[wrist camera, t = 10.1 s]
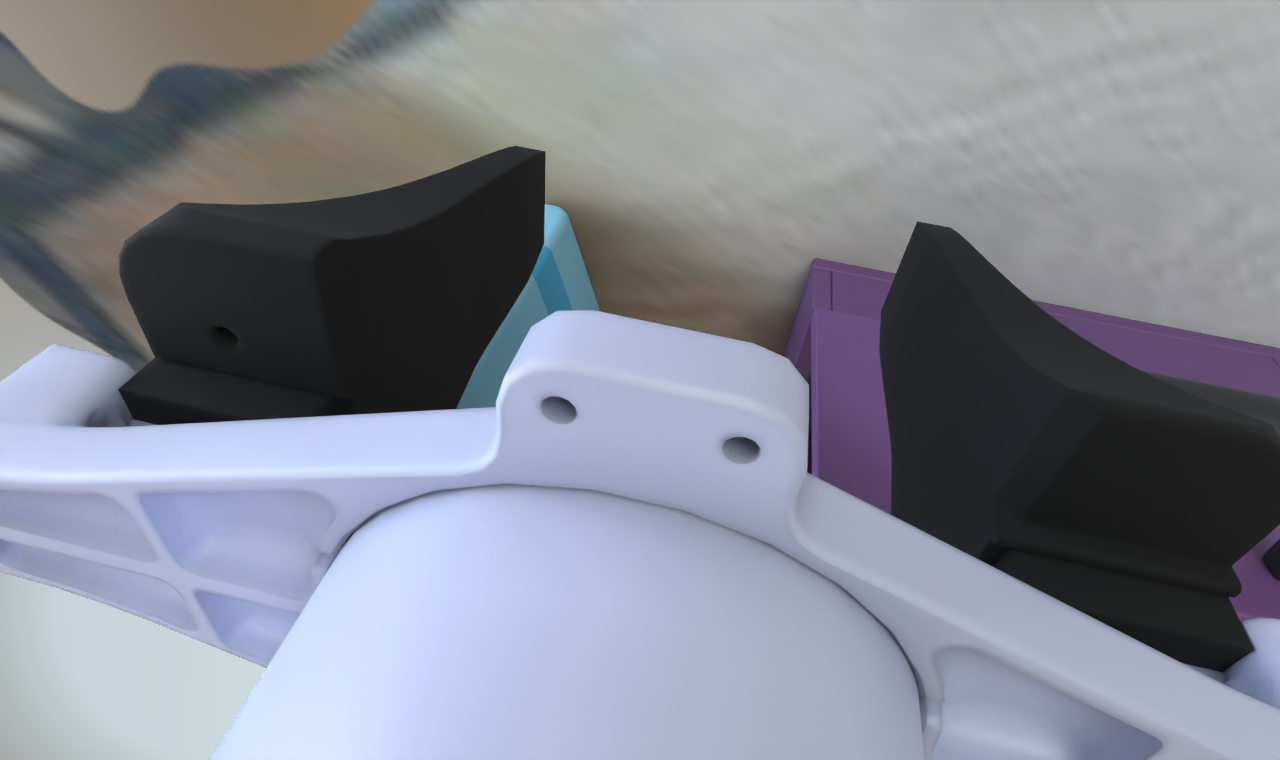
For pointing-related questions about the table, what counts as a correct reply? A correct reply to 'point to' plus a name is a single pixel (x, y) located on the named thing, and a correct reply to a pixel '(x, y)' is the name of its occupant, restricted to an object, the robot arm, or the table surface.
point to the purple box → (1114, 335)
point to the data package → (534, 306)
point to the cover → (861, 450)
